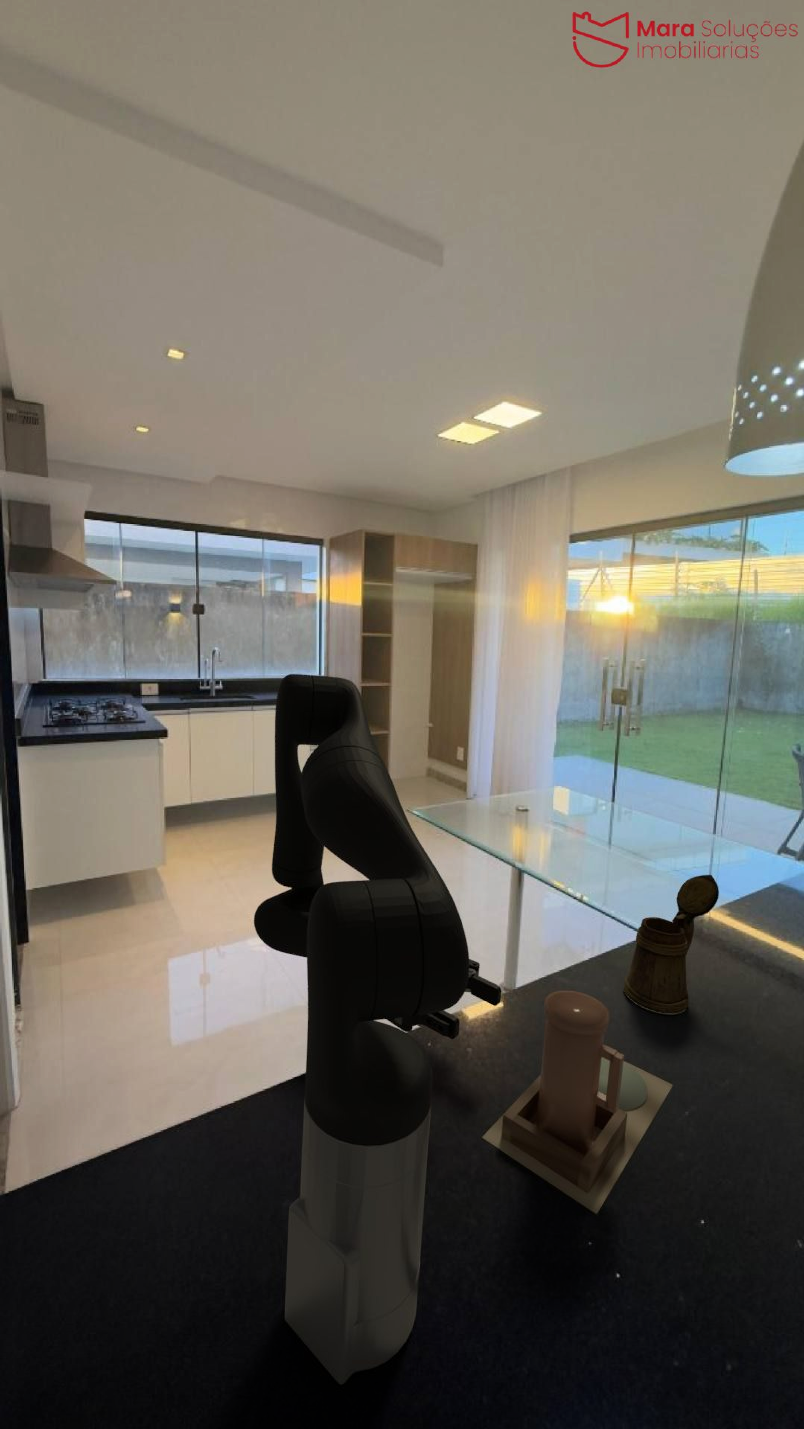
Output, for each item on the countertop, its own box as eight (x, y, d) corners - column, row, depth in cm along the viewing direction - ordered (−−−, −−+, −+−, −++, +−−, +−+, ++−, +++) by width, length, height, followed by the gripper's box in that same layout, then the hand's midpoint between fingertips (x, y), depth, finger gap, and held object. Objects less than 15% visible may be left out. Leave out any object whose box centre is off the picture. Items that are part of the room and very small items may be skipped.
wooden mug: (724, 1002, 90) (739, 886, 88) (656, 1021, 84) (671, 897, 82) (674, 971, 98) (687, 864, 96) (610, 987, 92) (622, 873, 90)
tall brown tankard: (597, 1185, 57) (613, 1046, 55) (521, 1136, 62) (533, 1008, 60) (622, 1145, 62) (637, 1016, 60) (549, 1103, 67) (561, 983, 65)
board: (595, 1223, 54) (599, 1188, 54) (481, 1146, 62) (483, 1114, 61) (672, 1092, 71) (675, 1065, 70) (574, 1044, 78) (577, 1019, 78)
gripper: (334, 949, 73) (444, 1008, 62) (410, 913, 84) (514, 958, 73) (331, 1008, 74) (439, 1075, 63) (407, 964, 84) (509, 1016, 74)
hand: (479, 1012), depth 68 cm, fingers open, 8 cm apart
